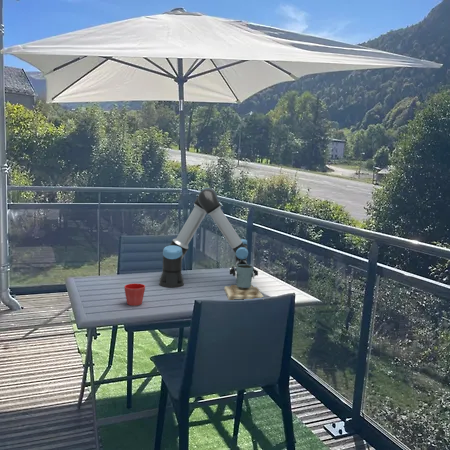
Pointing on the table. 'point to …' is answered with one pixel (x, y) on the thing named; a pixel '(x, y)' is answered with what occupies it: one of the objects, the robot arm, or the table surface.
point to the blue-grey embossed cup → (244, 275)
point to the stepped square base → (242, 292)
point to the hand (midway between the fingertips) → (245, 276)
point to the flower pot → (134, 294)
